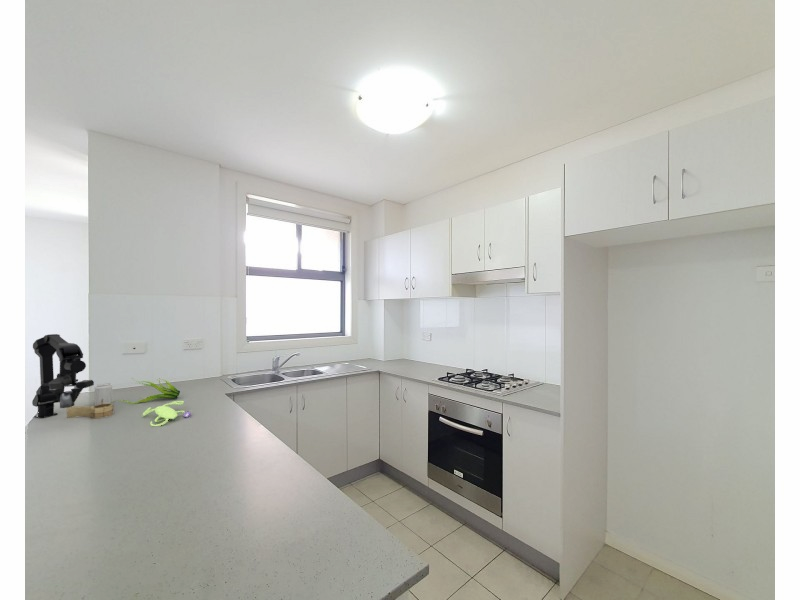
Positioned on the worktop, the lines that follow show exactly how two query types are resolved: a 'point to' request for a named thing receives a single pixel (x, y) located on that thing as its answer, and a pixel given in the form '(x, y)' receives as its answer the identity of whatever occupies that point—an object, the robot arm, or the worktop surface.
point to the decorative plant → (167, 394)
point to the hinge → (92, 410)
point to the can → (103, 393)
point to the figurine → (166, 412)
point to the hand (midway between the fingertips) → (67, 402)
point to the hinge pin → (66, 399)
